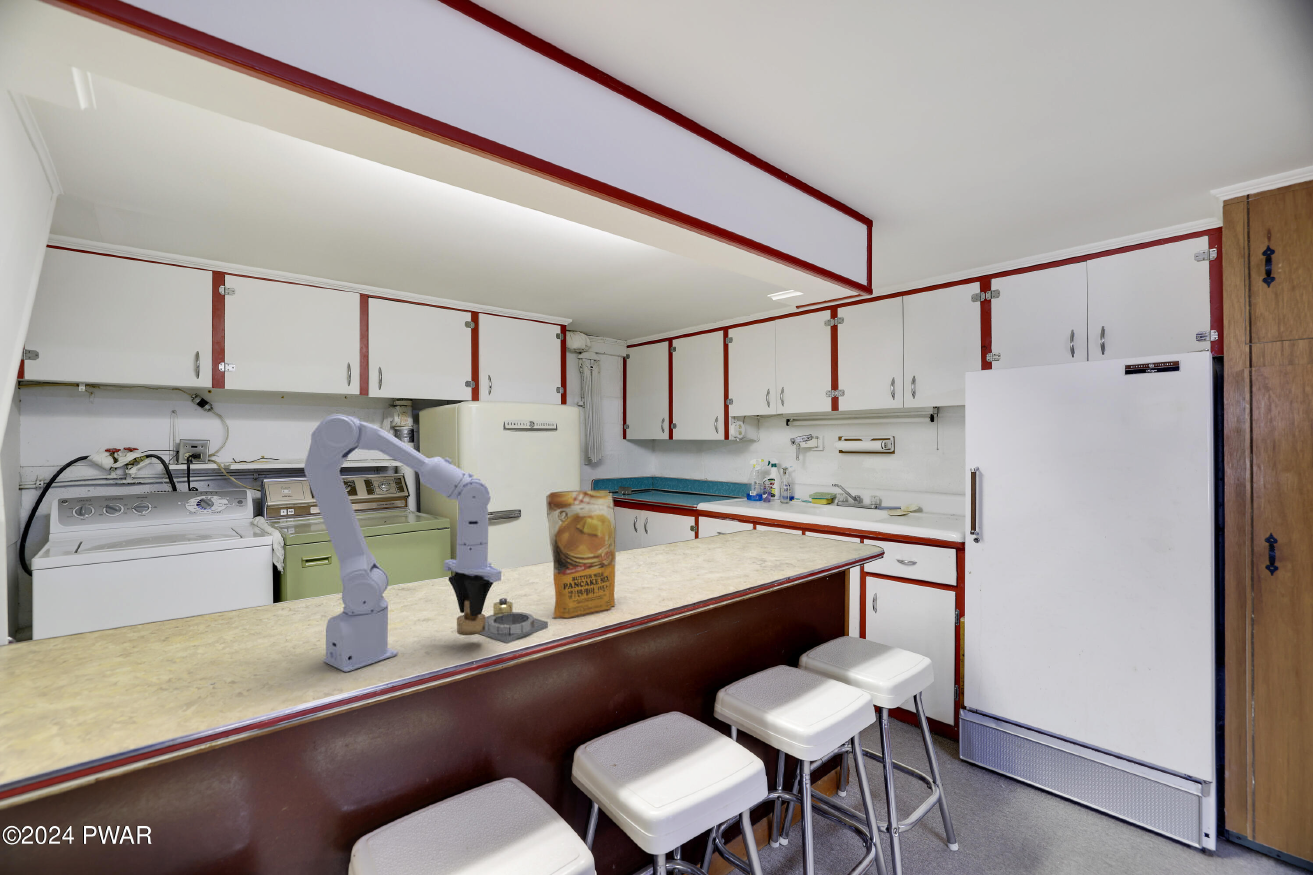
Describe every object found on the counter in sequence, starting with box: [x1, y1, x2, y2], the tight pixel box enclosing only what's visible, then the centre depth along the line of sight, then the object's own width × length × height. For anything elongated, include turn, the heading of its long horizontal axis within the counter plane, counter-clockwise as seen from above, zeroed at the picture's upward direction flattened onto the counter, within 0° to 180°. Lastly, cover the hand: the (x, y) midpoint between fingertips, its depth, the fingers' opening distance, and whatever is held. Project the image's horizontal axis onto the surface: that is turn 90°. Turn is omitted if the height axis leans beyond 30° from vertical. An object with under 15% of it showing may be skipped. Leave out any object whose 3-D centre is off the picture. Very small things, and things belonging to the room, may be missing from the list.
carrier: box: [478, 597, 549, 644], centre depth 116 cm, size 11×14×5 cm
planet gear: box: [456, 598, 486, 636], centre depth 106 cm, size 5×5×6 cm
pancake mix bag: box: [545, 489, 617, 619], centre depth 128 cm, size 7×19×28 cm, turn 126°
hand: (470, 613), depth 106 cm, fingers closed on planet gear, 3 cm apart
